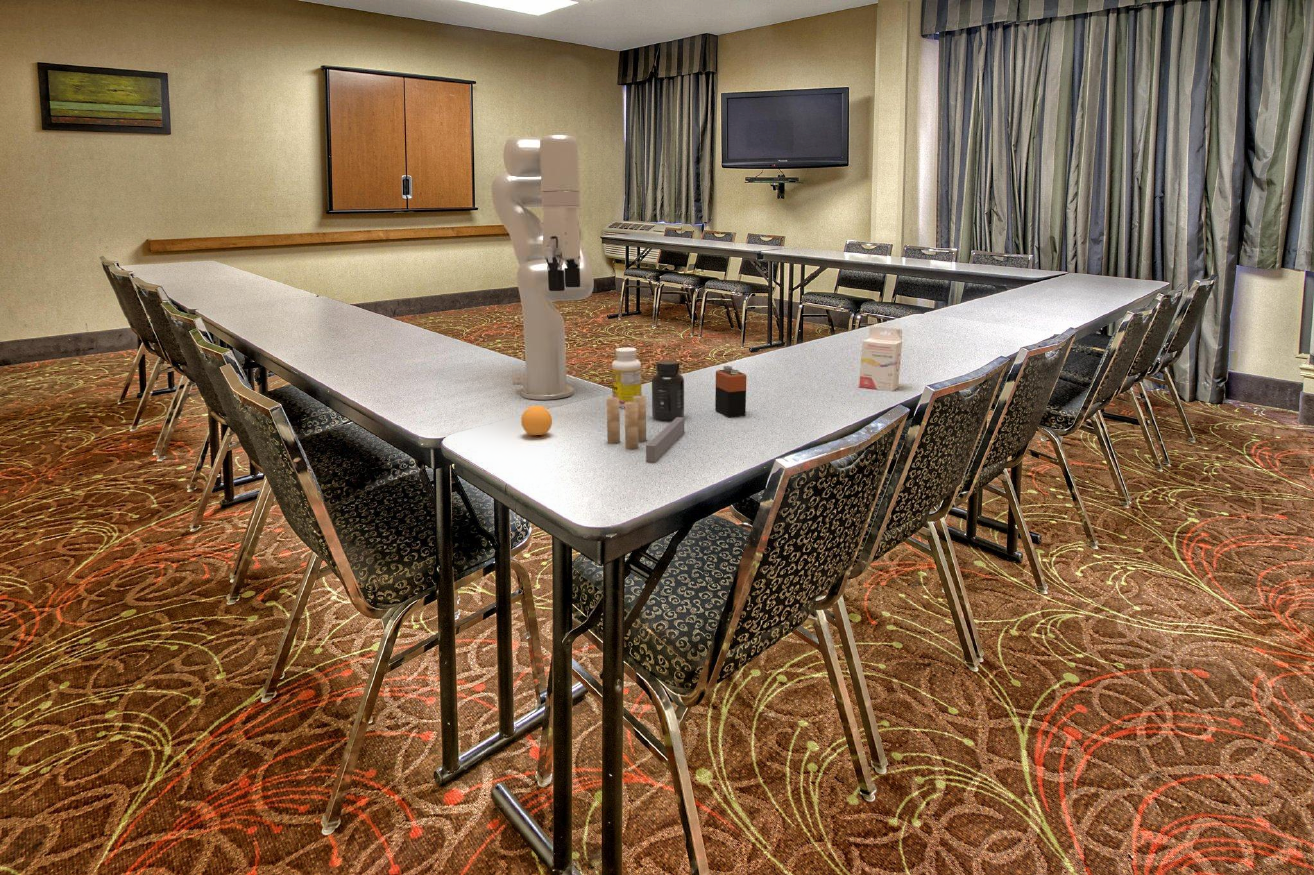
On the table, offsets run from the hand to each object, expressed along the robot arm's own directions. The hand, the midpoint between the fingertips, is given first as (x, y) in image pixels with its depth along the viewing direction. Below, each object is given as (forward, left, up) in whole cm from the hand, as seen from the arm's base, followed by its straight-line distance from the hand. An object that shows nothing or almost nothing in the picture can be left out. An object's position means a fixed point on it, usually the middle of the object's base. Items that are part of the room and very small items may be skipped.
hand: (565, 289), depth 160 cm
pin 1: (+20, -17, -27) cm, 38 cm away
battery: (+32, +12, -27) cm, 44 cm away
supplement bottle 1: (+8, +13, -27) cm, 31 cm away
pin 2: (+20, -12, -27) cm, 36 cm away
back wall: (+26, -15, -27) cm, 40 cm away
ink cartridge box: (+62, +46, -27) cm, 82 cm away
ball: (-1, -15, -24) cm, 28 cm away
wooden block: (+15, -15, -27) cm, 35 cm away
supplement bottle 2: (+20, +5, -27) cm, 34 cm away
